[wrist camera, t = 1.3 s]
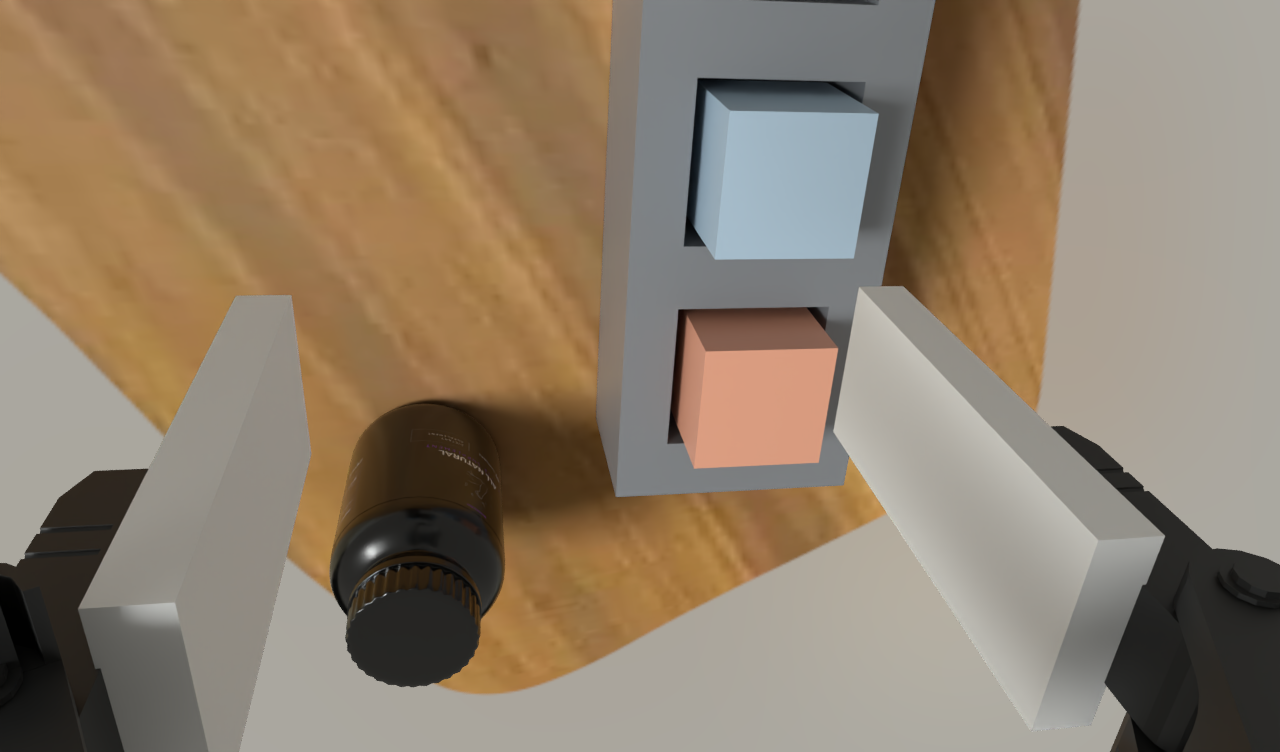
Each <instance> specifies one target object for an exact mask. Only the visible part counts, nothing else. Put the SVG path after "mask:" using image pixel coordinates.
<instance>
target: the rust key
mask: <svg viewBox="0 0 1280 752" xmlns="http://www.w3.org/2000/svg"><path fill="white" fill-rule="evenodd" d="M837 353H838V347H837V346H836V345H835V343H834V342H833V341H832V339H831V338H830V337H829V336H828V334H827V333H826V332H825V331H824V329H823V328H822V327H821V325H820V324H819V323H818V322H817V320H816V319H815V318H814V317H813V315H812V314H811V313H810V311H809V310H808V309H807V308H806V307H780V308H723V309H678V320H677V332H676V344H675V356H674V368H673V381H672V393H671V405H670V408H671V411H672V414H673V416H674V419H675V421H676V424H677V426H678V429H679V431H680V434H681V436H682V439H683V442H684V444H685V447H686V449H687V452H688V454H689V457H690V459H691V462H692V465H693V467H694V469H697V468H718V467H739V466H760V465H781V464H802V463H819V458H820V452H821V446H822V440H823V434H824V429H825V423H826V417H827V411H828V405H829V400H830V394H831V388H832V382H833V376H834V371H835V365H836V359H837Z"/></svg>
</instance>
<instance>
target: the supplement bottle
mask: <svg viewBox="0 0 1280 752" xmlns="http://www.w3.org/2000/svg"><path fill="white" fill-rule="evenodd" d="M504 572H505V553H504V532H503V511H502V490H501V473H500V462H499V456H498V452H497V449H496V446H495V444H494V442H493V440H492V438H491V436H490V435H489V433H488V432H487V431H486V430H485V428H484V427H483V426H482V425H481V424H480V423H479V422H477V421H476V420H475V419H473V418H472V417H470V416H469V415H467V414H465V413H463V412H461V411H459V410H457V409H454V408H451V407H448V406H443V405H437V404H414V405H408V406H404V407H400V408H397V409H395V410H392V411H390V412H388V413H386V414H384V415H383V416H381V417H379V418H378V419H377V420H375V421H374V422H373V423H372V424H371V425H370V426H369V427H368V428H367V429H366V430H365V431H364V432H363V434H362V435H361V437H360V438H359V440H358V442H357V444H356V447H355V449H354V452H353V455H352V459H351V463H350V467H349V472H348V477H347V482H346V486H345V491H344V496H343V501H342V506H341V511H340V515H339V520H338V525H337V530H336V535H335V540H334V544H333V549H332V554H331V561H330V583H331V587H332V591H333V594H334V596H335V599H336V601H337V602H338V604H339V606H340V607H341V609H342V610H343V612H344V613H345V614H346V615H347V627H346V630H347V631H346V637H345V638H346V642H347V644H348V645H347V651H348V652H349V653H350V654H351V658H352V660H353V661H354V662H356V663H357V666H358V668H359V669H361V670H363V671H364V672H365V673H366V674H367V675H368V676H372V677H374V678H375V679H376V680H377V681H383V682H385V683H386V684H388V685H397V686H400V687H405V686H410V687H416V686H427V685H429V684H431V683H439V682H440V681H442V680H443V679H448V678H450V677H451V676H452V675H453V674H455V673H458V672H460V670H461V669H462V667H464V666H466V665H468V662H469V660H470V659H471V658H472V657H473V656H474V654H475V650H476V649H477V647H478V645H479V637H480V621H481V619H482V618H483V617H484V616H485V615H486V613H487V612H488V611H489V610H490V608H491V607H492V606H493V604H494V603H495V601H496V599H497V597H498V595H499V593H500V591H501V588H502V584H503V580H504Z"/></svg>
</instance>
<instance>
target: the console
mask: <svg viewBox="0 0 1280 752" xmlns="http://www.w3.org/2000/svg"><path fill="white" fill-rule="evenodd" d="M934 5H935V0H613V11H612V35H611V60H610V85H609V109H608V134H607V158H606V183H605V207H604V232H603V256H602V281H601V305H600V330H599V354H598V379H597V404H596V420H597V424H598V428H599V432H600V436H601V440H602V444H603V448H604V452H605V456H606V460H607V464H608V468H609V472H610V476H611V480H612V483H613V487H614V491H615V495H616V497H628V496H647V495H666V494H685V493H704V492H723V491H742V490H762V489H781V488H800V487H819V486H838V485H844V480H845V475H846V470H847V464H848V459H849V455H848V453H847V452H846V450H845V449H844V447H843V446H842V444H841V443H840V441H839V440H838V438H837V437H836V435H835V434H834V432H833V430H834V425H835V419H836V414H837V408H838V402H839V397H840V391H841V385H842V380H843V374H844V368H845V363H846V357H847V352H848V346H849V340H850V335H851V329H852V323H853V318H854V312H855V306H856V301H857V295H858V289H859V287H876V286H881V285H882V280H883V274H884V269H885V264H886V258H887V253H888V248H889V243H890V237H891V232H892V227H893V222H894V216H895V211H896V206H897V200H898V195H899V190H900V185H901V179H902V174H903V169H904V164H905V158H906V153H907V148H908V142H909V137H910V132H911V127H912V121H913V116H914V111H915V105H916V100H917V95H918V90H919V84H920V79H921V74H922V69H923V63H924V58H925V53H926V47H927V42H928V37H929V32H930V26H931V21H932V16H933V10H934ZM697 79H708V80H746V81H785V82H823V83H828V84H830V85H832V86H833V87H835V88H837V89H838V90H840V91H842V92H843V93H845V94H847V95H848V96H850V97H852V98H853V99H855V100H857V101H858V102H860V103H862V104H863V105H865V106H867V107H868V108H870V109H872V110H873V111H875V112H877V113H878V114H879V115H878V121H877V127H876V133H875V139H874V144H873V150H872V156H871V162H870V168H869V173H868V179H867V185H866V191H865V197H864V202H863V208H862V214H861V220H860V226H859V231H858V237H857V243H856V249H855V255H854V258H846V259H724V260H715V259H714V257H713V256H712V254H711V253H710V251H709V250H708V248H707V247H706V245H705V243H704V242H703V240H702V239H701V237H700V236H699V234H698V233H697V231H696V230H695V228H694V227H693V225H692V224H691V222H690V220H689V219H688V217H687V216H686V211H687V199H688V187H689V175H690V163H691V151H692V139H693V127H694V115H695V103H696V90H697ZM780 307H806V308H807V309H808V310H809V311H810V313H811V314H812V315H813V317H814V318H815V319H816V320H817V322H818V323H819V324H820V325H821V327H822V328H823V329H824V331H825V332H826V333H827V334H828V336H829V337H830V338H831V339H832V341H833V342H834V343H835V345H836V346H837V347H838V353H837V359H836V365H835V371H834V376H833V382H832V388H831V394H830V400H829V405H828V411H827V417H826V423H825V429H824V434H823V440H822V446H821V452H820V458H819V463H802V464H781V465H760V466H739V467H718V468H697V469H694V467H693V465H692V462H691V459H690V457H689V454H688V452H687V449H686V447H685V444H684V442H683V439H682V436H681V434H680V431H679V429H678V426H677V424H676V421H675V419H674V416H673V414H672V411H671V408H670V405H671V393H672V381H673V368H674V356H675V344H676V332H677V320H678V309H723V308H780Z"/></svg>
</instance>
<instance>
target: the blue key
mask: <svg viewBox="0 0 1280 752" xmlns="http://www.w3.org/2000/svg"><path fill="white" fill-rule="evenodd" d="M878 115H879V114H878V113H877V112H875V111H873V110H872V109H870V108H868V107H867V106H865V105H863V104H862V103H860V102H858V101H857V100H855V99H853V98H852V97H850V96H848V95H847V94H845V93H843V92H842V91H840V90H838V89H837V88H835V87H833V86H832V85H830V84H828V83H823V82H785V81H746V80H708V79H697V90H696V103H695V115H694V127H693V139H692V151H691V163H690V175H689V187H688V199H687V211H686V216H687V217H688V219H689V220H690V222H691V224H692V225H693V227H694V228H695V230H696V231H697V233H698V234H699V236H700V237H701V239H702V240H703V242H704V243H705V245H706V247H707V248H708V250H709V251H710V253H711V254H712V256H713V257H714V259H715V260H724V259H846V258H854V255H855V249H856V243H857V237H858V231H859V226H860V220H861V214H862V208H863V202H864V197H865V191H866V185H867V179H868V173H869V168H870V162H871V156H872V150H873V144H874V139H875V133H876V127H877V121H878Z"/></svg>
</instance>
